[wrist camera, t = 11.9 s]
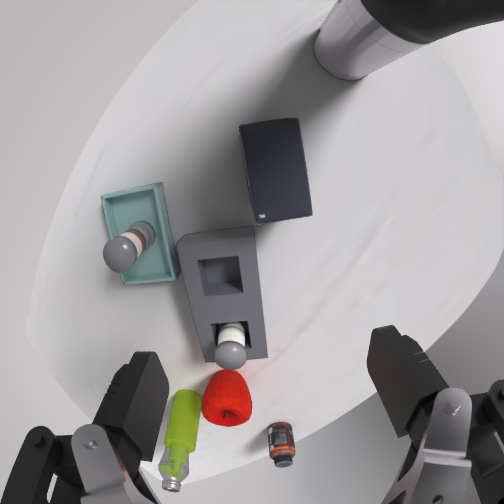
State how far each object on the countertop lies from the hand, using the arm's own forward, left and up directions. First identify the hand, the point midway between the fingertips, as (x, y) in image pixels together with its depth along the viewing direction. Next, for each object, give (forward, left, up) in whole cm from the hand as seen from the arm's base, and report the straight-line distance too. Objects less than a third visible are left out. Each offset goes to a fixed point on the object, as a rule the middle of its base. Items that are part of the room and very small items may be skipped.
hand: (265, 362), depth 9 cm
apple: (+32, -8, -30) cm, 45 cm away
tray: (+2, -17, -30) cm, 34 cm away
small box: (-5, +3, -30) cm, 31 cm away
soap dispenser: (+38, -18, -30) cm, 52 cm away
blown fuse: (+2, -16, -30) cm, 34 cm away
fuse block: (+13, -5, -30) cm, 33 cm away
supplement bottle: (+53, +1, -30) cm, 61 cm away
